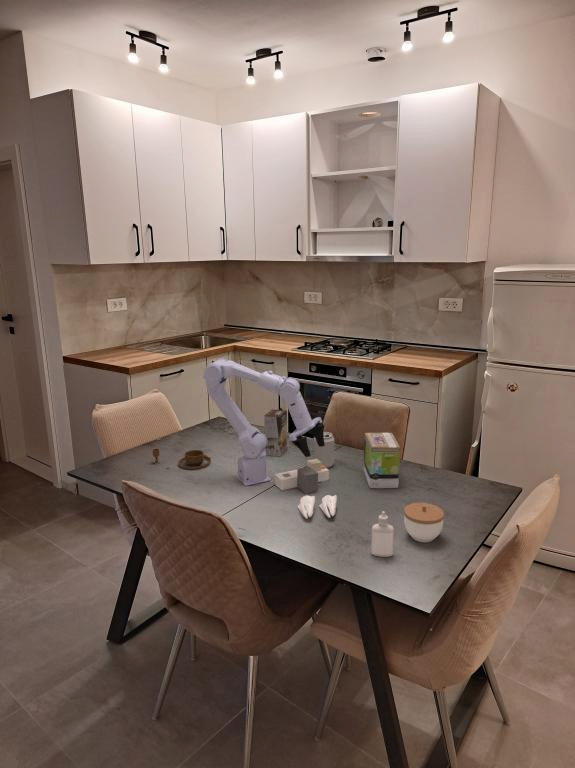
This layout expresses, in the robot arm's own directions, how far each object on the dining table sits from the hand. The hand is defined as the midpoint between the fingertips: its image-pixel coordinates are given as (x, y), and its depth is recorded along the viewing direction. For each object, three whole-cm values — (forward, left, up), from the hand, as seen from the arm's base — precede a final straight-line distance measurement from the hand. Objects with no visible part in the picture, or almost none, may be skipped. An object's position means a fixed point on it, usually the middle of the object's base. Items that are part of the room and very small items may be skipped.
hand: (315, 451), depth 184 cm
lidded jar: (+10, -43, -12) cm, 46 cm away
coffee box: (+1, +34, -12) cm, 36 cm away
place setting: (-33, +40, -13) cm, 54 cm away
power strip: (-3, +4, -12) cm, 13 cm away
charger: (-4, 0, -12) cm, 13 cm away
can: (+11, +14, -12) cm, 22 cm away
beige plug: (+2, +4, -9) cm, 10 cm away
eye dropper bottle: (-5, -45, -12) cm, 47 cm away
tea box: (+22, -6, -12) cm, 26 cm away
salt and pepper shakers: (-10, -18, -13) cm, 24 cm away
